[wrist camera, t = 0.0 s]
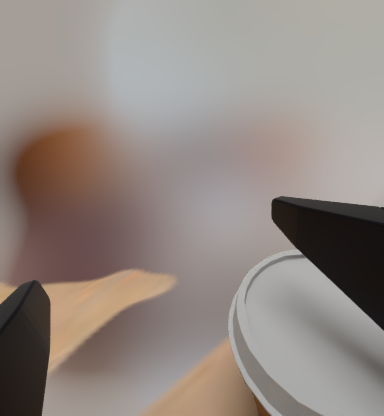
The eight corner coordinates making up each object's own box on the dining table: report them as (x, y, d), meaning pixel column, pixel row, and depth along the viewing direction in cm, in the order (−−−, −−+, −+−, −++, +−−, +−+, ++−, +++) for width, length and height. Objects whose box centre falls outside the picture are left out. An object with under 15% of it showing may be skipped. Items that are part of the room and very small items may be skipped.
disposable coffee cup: (304, 601, 11) (343, 554, 5) (218, 384, 19) (197, 276, 13) (447, 490, 13) (586, 371, 7) (314, 338, 21) (331, 227, 15)
